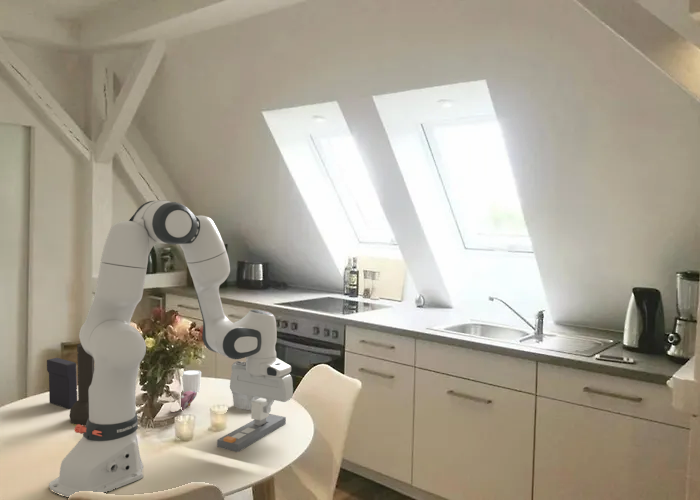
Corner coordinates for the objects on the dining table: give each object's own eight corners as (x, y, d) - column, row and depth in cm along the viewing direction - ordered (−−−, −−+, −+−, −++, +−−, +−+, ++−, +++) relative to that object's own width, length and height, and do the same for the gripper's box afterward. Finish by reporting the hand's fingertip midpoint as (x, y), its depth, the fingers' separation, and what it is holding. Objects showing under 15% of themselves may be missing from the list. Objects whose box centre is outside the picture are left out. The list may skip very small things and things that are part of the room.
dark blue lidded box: (79, 406, 205) (78, 362, 204) (67, 410, 202) (66, 364, 200) (59, 400, 211) (58, 356, 210) (47, 403, 207) (46, 359, 206)
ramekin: (278, 410, 205) (279, 390, 204) (241, 418, 198) (241, 396, 197) (261, 399, 216) (261, 379, 215) (225, 406, 208) (225, 385, 208)
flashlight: (68, 427, 187) (103, 424, 190) (66, 345, 185) (102, 343, 188) (70, 416, 196) (104, 413, 199) (69, 338, 194) (103, 336, 197)
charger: (260, 427, 180) (260, 403, 180) (251, 425, 182) (251, 401, 181) (268, 422, 184) (269, 399, 184) (259, 420, 186) (260, 397, 185)
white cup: (178, 393, 220) (178, 374, 220) (186, 387, 227) (186, 369, 226) (196, 395, 219) (196, 375, 219) (204, 389, 226) (204, 370, 225)
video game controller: (178, 418, 200) (187, 400, 199) (167, 411, 201) (176, 393, 200) (192, 408, 210) (201, 391, 209) (181, 401, 210) (189, 384, 209)
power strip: (238, 457, 168) (238, 441, 167) (217, 452, 171) (217, 436, 170) (285, 428, 189) (285, 414, 189) (266, 424, 192) (266, 410, 192)
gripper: (225, 362, 183) (225, 408, 184) (284, 372, 174) (283, 420, 175) (238, 357, 189) (238, 402, 190) (296, 367, 180) (295, 413, 181)
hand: (260, 411), depth 183 cm, fingers closed on charger, 3 cm apart
